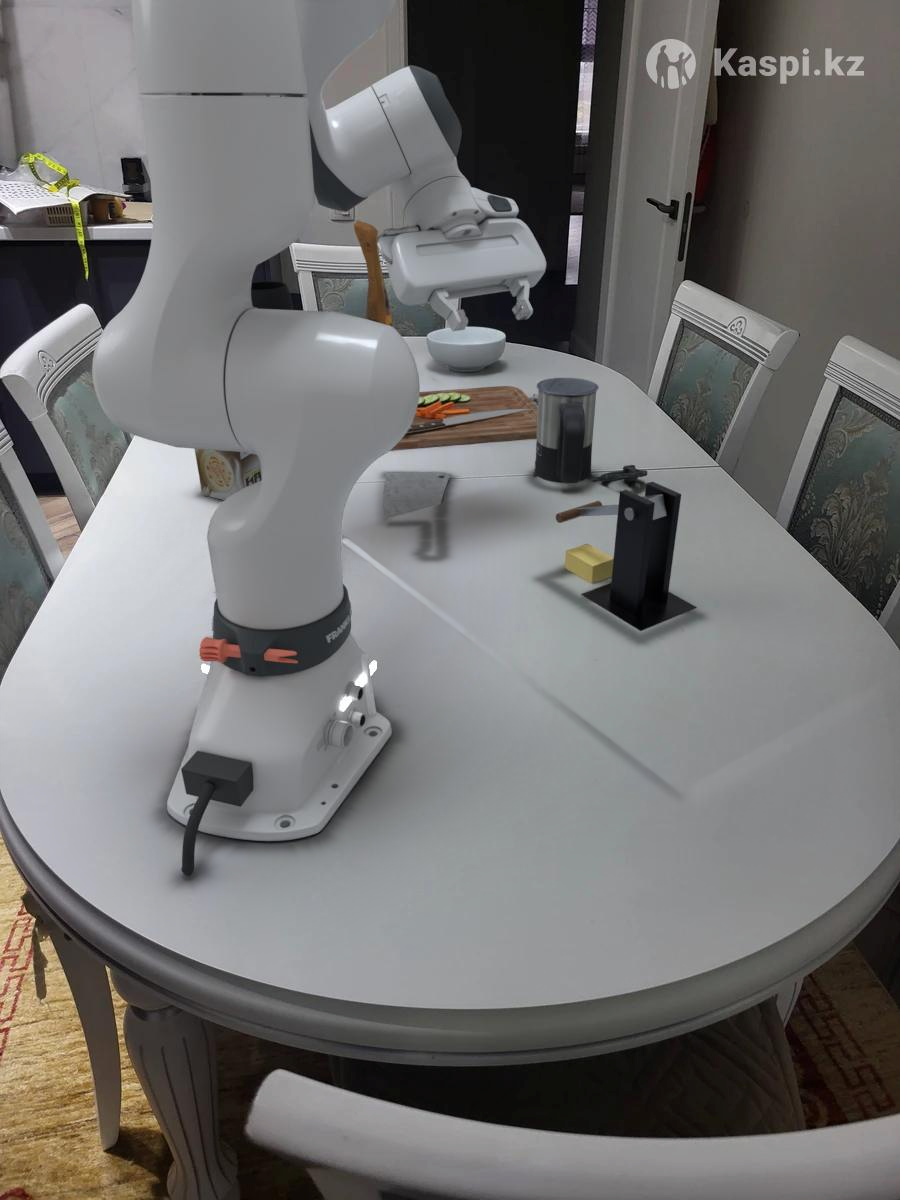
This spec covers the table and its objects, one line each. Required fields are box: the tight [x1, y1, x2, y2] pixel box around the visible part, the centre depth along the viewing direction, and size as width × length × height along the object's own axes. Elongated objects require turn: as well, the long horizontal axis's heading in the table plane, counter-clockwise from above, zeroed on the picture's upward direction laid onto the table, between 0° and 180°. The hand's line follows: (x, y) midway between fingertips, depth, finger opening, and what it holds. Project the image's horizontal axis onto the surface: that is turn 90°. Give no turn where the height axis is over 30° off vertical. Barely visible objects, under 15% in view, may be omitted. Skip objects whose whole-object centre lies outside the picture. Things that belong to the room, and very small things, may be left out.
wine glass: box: [251, 280, 294, 310], centre depth 177 cm, size 10×10×20 cm
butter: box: [564, 543, 614, 585], centre depth 109 cm, size 5×4×3 cm
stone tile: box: [383, 471, 451, 520], centre depth 128 cm, size 29×1×10 cm
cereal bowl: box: [426, 326, 507, 373], centre depth 192 cm, size 17×17×7 cm
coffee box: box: [194, 449, 262, 501], centre depth 131 cm, size 9×6×16 cm
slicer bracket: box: [580, 481, 698, 632], centre depth 101 cm, size 10×9×15 cm
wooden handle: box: [353, 219, 394, 328], centre depth 198 cm, size 7×19×28 cm, turn 11°
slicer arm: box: [555, 494, 667, 524], centre depth 103 cm, size 14×6×2 cm, turn 34°
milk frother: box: [532, 377, 648, 484], centre depth 134 cm, size 14×16×15 cm
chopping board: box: [390, 385, 538, 451], centre depth 163 cm, size 45×27×3 cm, turn 102°
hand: (494, 322), depth 104 cm, fingers open, 8 cm apart
